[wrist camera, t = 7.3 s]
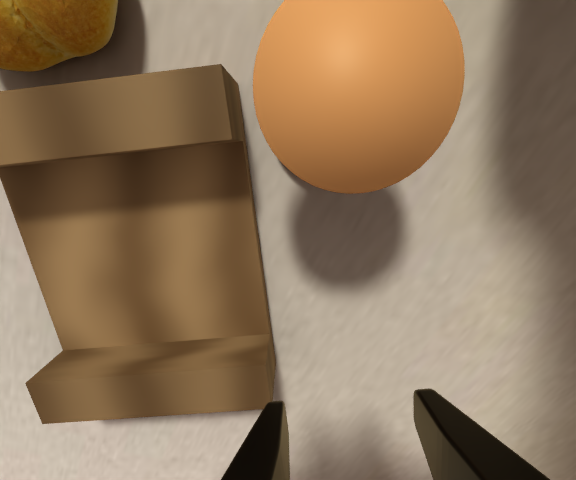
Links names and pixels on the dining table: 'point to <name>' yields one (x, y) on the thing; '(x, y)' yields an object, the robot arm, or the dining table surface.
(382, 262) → the dining table surface
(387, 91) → the orange capped knob
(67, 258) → the notch board
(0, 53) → the bread roll
